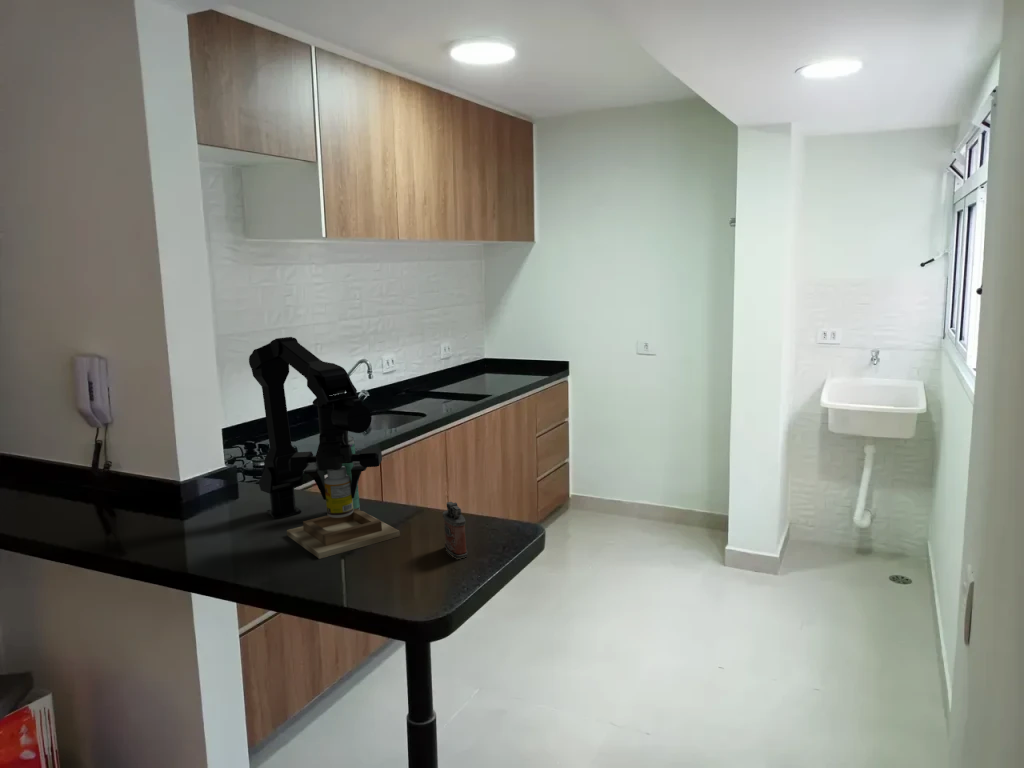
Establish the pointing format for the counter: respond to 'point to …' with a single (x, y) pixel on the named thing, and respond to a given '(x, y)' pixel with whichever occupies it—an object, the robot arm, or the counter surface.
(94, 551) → the counter surface
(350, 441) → the spray can
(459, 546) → the lighter
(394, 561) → the counter surface
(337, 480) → the supplement bottle
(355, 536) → the holder board
